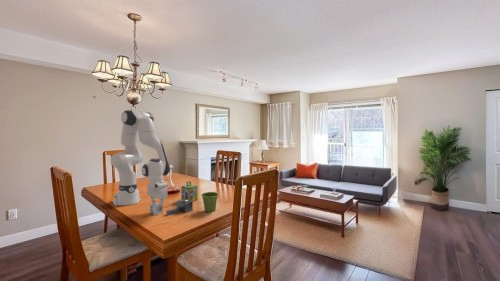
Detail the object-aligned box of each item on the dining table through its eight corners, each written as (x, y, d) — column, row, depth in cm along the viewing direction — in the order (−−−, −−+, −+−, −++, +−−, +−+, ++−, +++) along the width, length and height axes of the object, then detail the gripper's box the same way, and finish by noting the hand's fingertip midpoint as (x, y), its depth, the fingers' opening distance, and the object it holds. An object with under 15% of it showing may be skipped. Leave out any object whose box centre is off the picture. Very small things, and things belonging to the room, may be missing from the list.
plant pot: (197, 210, 161) (197, 194, 160) (212, 206, 169) (212, 191, 168) (207, 214, 152) (207, 197, 152) (222, 210, 160) (222, 194, 160)
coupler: (163, 213, 155) (163, 203, 155) (184, 207, 167) (184, 197, 167) (171, 216, 148) (171, 206, 148) (192, 210, 160) (192, 200, 160)
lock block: (149, 213, 155) (149, 204, 154) (158, 210, 159) (158, 202, 159) (153, 215, 151) (153, 206, 151) (162, 212, 156) (162, 204, 155)
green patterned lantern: (189, 203, 177) (189, 183, 176) (180, 201, 182) (180, 182, 181) (198, 200, 185) (197, 181, 184) (189, 198, 190) (189, 180, 189)
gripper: (144, 182, 159) (145, 202, 159) (159, 186, 146) (160, 208, 146) (153, 180, 164) (154, 200, 164) (169, 184, 150) (169, 205, 151)
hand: (157, 203), depth 155 cm, fingers open, 8 cm apart
